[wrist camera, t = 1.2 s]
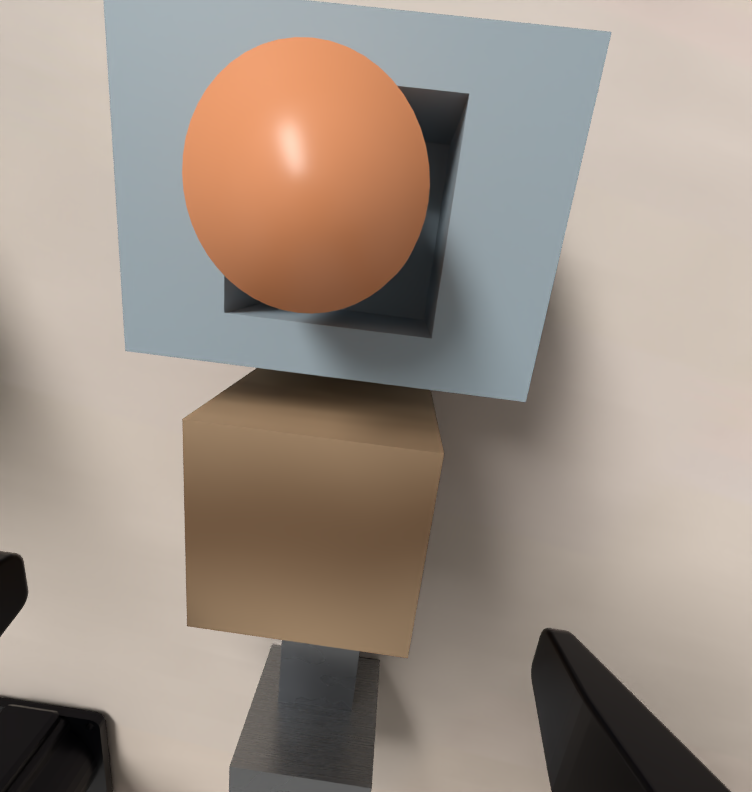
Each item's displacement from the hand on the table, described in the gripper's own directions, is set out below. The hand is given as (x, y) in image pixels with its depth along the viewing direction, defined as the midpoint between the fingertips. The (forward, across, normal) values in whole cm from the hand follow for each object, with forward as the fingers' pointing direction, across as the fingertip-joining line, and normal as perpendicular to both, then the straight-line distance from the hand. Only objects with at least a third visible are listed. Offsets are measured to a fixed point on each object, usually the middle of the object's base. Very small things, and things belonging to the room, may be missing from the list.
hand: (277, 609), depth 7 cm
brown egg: (+3, 0, -7) cm, 7 cm away
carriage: (+8, 0, 0) cm, 8 cm away
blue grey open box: (+9, 0, -7) cm, 11 cm away
